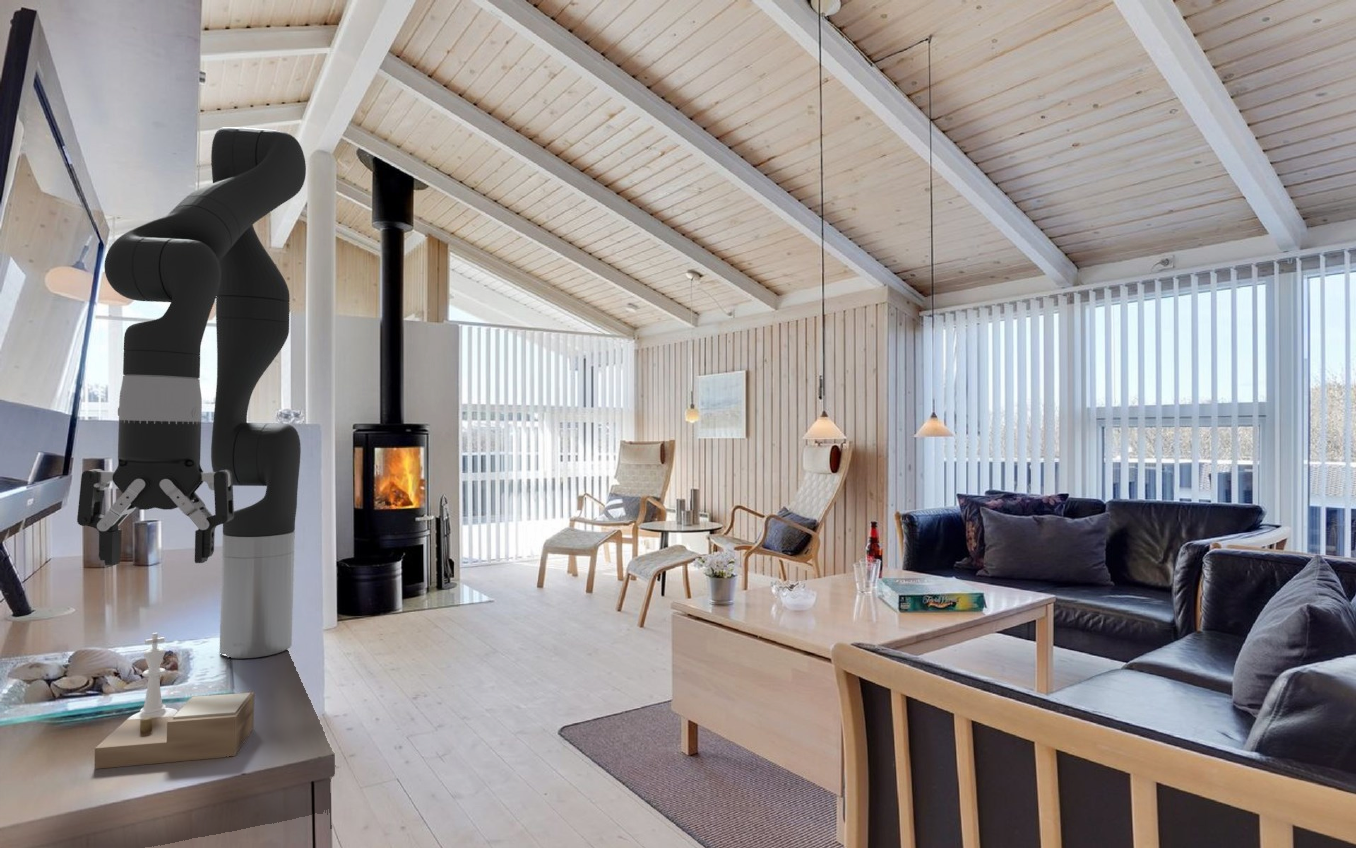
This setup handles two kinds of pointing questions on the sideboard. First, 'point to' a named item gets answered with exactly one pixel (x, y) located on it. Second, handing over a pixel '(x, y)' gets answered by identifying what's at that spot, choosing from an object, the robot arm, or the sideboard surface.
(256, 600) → the robot arm
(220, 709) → the stepped wooden block
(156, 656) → the chess piece
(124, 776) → the sideboard surface
